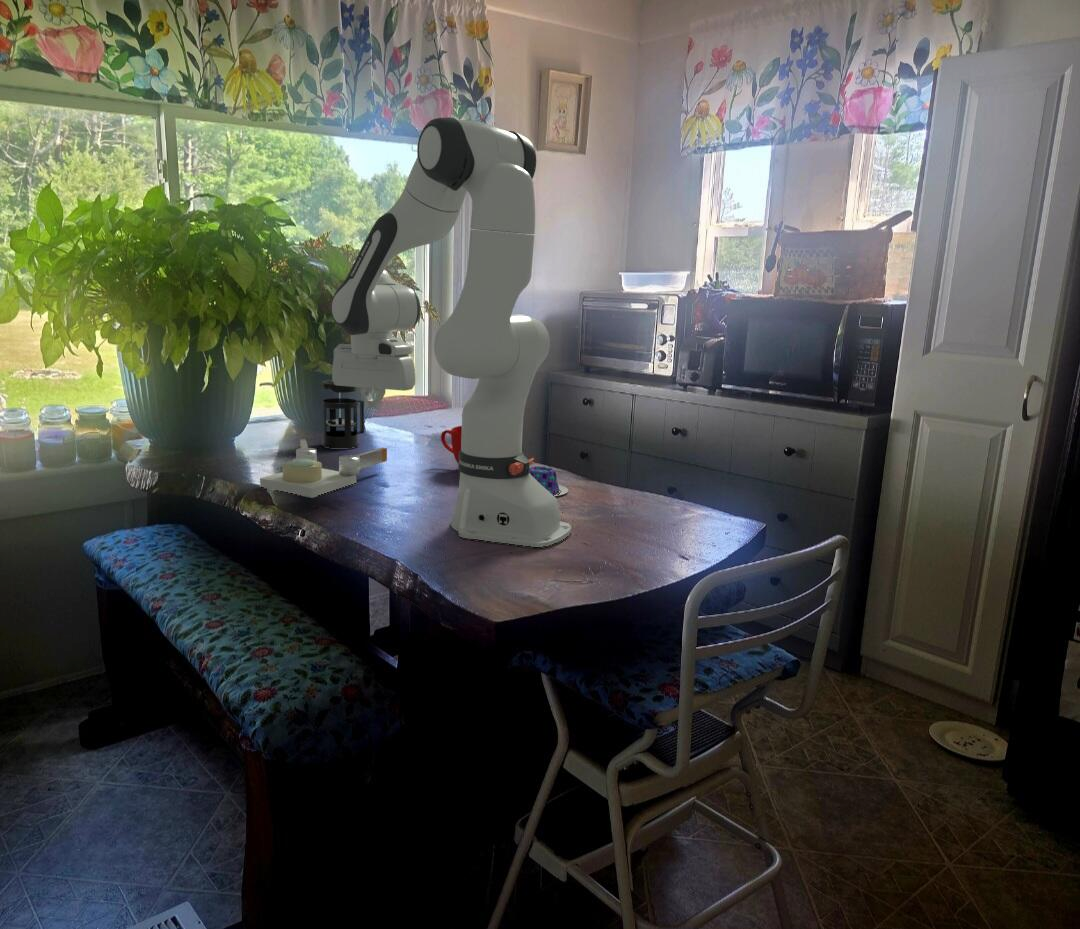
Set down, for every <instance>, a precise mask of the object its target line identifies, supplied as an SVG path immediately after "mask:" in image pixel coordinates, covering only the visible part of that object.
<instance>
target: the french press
mask: <svg viewBox="0 0 1080 929" xmlns="http://www.w3.org/2000/svg"><path fill="white" fill-rule="evenodd" d="M333 360H334V357H333V358H331V359H330V361H333ZM321 384H322V385H323V388H324V389H325V390H328V389H330V390H332V392H334V393H338V397H334V398H333V397H331V398H325V399H322V400H321V407H322V444H321V446H322V445H323V446H325V447H329V448H352V447H357V446H358V445H360V444H359V435H361V434H364V433H365V416H364V415H365V408H364V407H365V403H364V400H362V399H354V398H347V397H342V398H341V394H342V393H343V394H344V393H355V392H356V391H357V390H356V389H357V387H351V386H338V385H335V384H334V382H333V381H332V379H327V380H321ZM358 403H359V404H358ZM358 406H359V430H358ZM327 409H329V413H328V414H329V419H327ZM338 409H339V410H338ZM342 409H343V411H344V414H343V415H344V416H343V417H344V418H342V417H341V416H342V415H341V414H342ZM352 409H353V417H352ZM337 410H338V412H339V413H338V414H339V415H338V416H339V417H338V418H337ZM352 418H353V419H352ZM328 427H329V430H328V431H327V428H328ZM352 427H353V430H352ZM337 428H344V430H340V429H339V430H337ZM358 447H359V446H358ZM358 447H357V448H358Z"/></svg>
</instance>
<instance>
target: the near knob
mask: <svg viewBox="0 0 1080 929" xmlns="http://www.w3.org/2000/svg"><path fill="white" fill-rule="evenodd" d="M387 461H388V448H386V447H380V448H376V449H373V450H369V451H366V452H361V453H358V454H344V455H340V456H338V471H339V474H340V475H343V476H355V475H356V476H359V475H360V474H361V470H362V469H364V468H368V467H371V466H375V465H378V464H382V463H384V462H385V463H386V462H387Z"/></svg>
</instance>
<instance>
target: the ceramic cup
mask: <svg viewBox="0 0 1080 929" xmlns="http://www.w3.org/2000/svg"><path fill="white" fill-rule="evenodd" d="M446 434H449V435H450V438H451V446H450V445H449V443H448V442H447V440H446ZM461 439H462V425H458V426H454V427H452V428H451V429H446V430H444V431H442V432H441V435H440V441H441V444H442V445H443V447H444V448H445V450H447V451H449V452H450V453H452V454H453V456H454V459H455V461H456V463H457V464H458V460H459V451H460V450H461Z"/></svg>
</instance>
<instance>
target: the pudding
mask: <svg viewBox="0 0 1080 929" xmlns="http://www.w3.org/2000/svg"><path fill="white" fill-rule="evenodd" d="M529 471H530V472H529V473H530V474H531V475H532V476H533V477H534V478H535V479H536V480H537V481H538V482H539V483H540V484H541V485H542V486H543V487H544V488H545V489H546V490H548V491H549V492H550V493H551V494H552V495H554V497H558V496H562V495H565V494H567V493H568V492H569V489H568V488H567V487H566V486H564V485H561V484H559V481H558V479H557V478H558V477H557V473H556V471H555V469H554V468H552V467H549V466H548V467H547V466H533V467H532V466H531V467H529ZM559 489H560V490H561V491H562V492H561V493H560V491H559ZM559 493H560V494H559ZM555 494H556V495H555ZM557 494H559V495H557Z"/></svg>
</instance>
